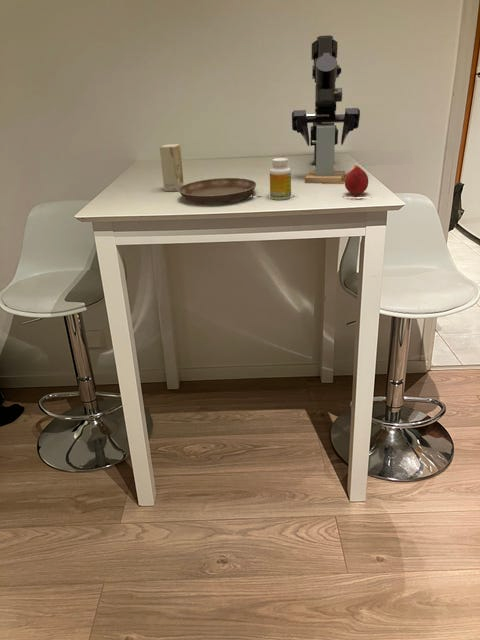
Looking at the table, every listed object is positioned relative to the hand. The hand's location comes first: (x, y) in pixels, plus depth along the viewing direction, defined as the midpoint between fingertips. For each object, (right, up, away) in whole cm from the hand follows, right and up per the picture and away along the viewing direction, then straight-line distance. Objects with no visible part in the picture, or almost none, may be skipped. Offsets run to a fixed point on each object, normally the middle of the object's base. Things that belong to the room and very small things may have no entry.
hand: (325, 144), depth 145 cm
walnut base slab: (+1, -10, +6) cm, 11 cm away
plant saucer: (-29, -16, -5) cm, 34 cm away
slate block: (+1, -7, +5) cm, 9 cm away
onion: (+6, -18, -12) cm, 22 cm away
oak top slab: (+1, -8, +5) cm, 10 cm away
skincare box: (-43, -11, +7) cm, 45 cm away
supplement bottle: (-13, -17, -9) cm, 23 cm away
